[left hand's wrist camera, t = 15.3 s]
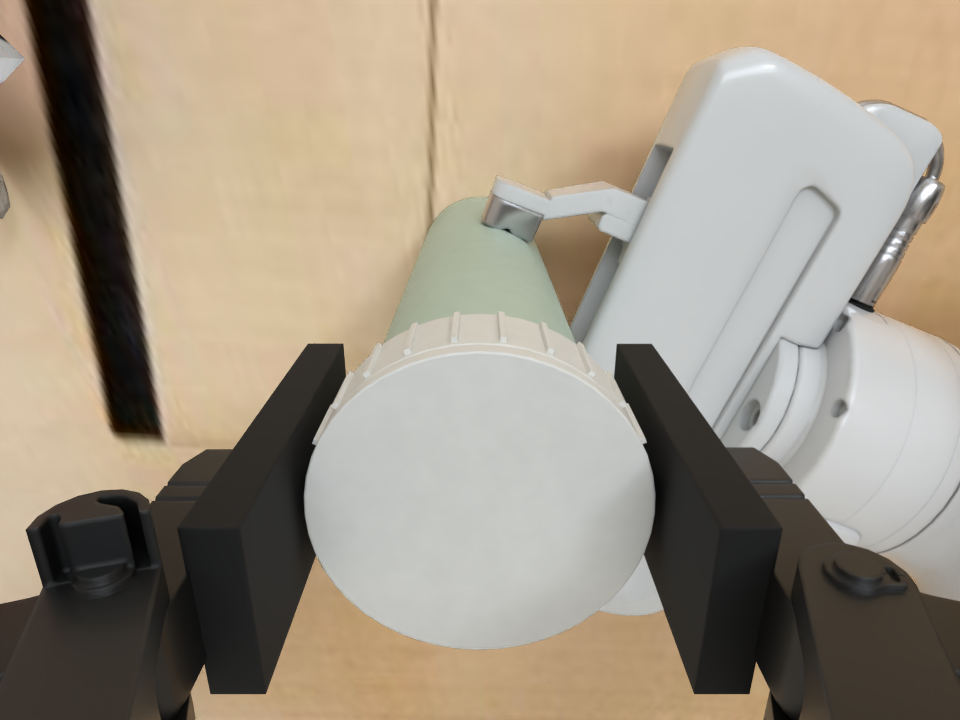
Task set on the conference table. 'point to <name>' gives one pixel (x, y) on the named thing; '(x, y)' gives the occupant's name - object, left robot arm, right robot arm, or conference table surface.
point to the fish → (3, 62)
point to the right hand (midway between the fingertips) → (455, 284)
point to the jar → (477, 274)
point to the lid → (479, 484)
